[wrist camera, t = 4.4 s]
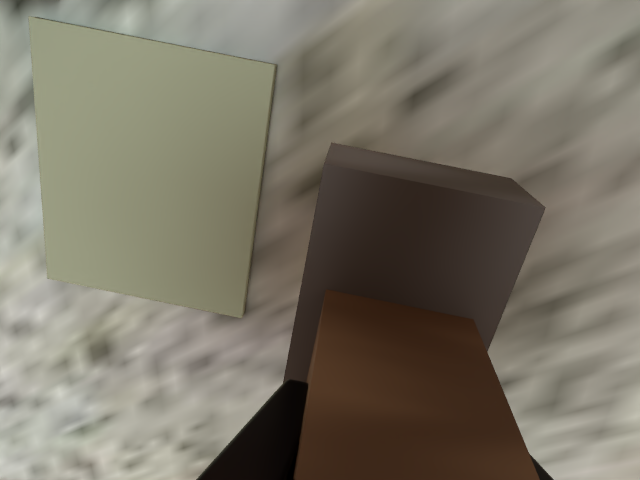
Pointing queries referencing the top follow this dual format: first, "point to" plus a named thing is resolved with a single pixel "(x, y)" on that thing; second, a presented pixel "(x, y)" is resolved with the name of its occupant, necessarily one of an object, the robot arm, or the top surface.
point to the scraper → (408, 321)
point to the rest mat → (149, 164)
